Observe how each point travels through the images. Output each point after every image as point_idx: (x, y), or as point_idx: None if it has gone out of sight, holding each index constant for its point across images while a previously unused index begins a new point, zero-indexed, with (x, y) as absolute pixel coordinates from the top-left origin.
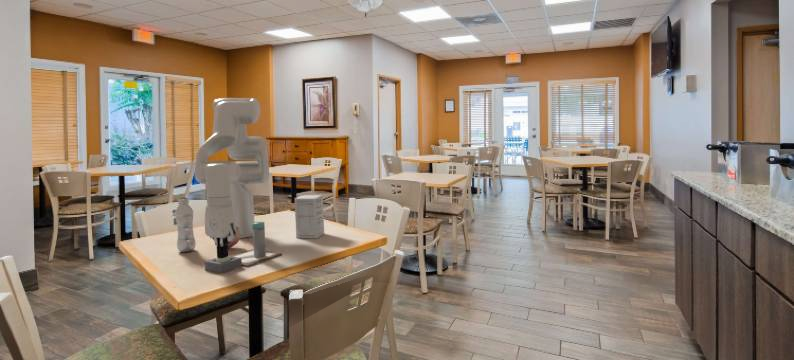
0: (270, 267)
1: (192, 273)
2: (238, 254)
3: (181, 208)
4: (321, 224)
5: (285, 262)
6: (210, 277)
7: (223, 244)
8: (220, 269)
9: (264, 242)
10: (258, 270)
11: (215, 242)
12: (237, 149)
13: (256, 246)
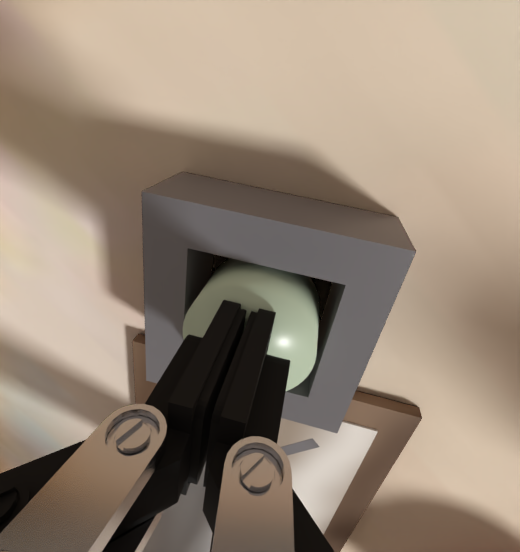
0: (29, 349)
1: (479, 89)
2: (351, 502)
3: None
4: None
5: (40, 418)
6: (198, 44)
7: (98, 437)
8: (182, 182)
9: None
10: (34, 296)
11: (271, 499)
12: None
13: (159, 532)
